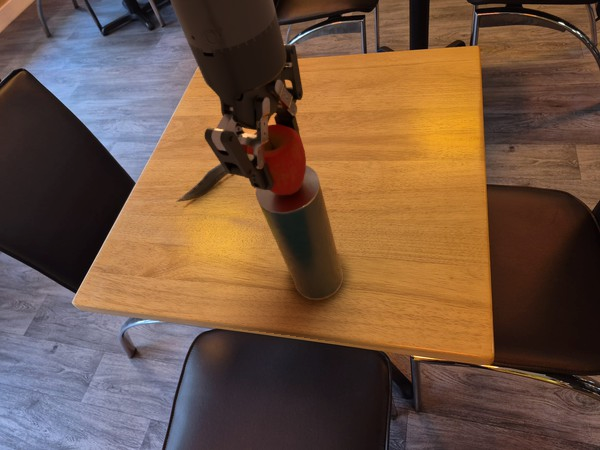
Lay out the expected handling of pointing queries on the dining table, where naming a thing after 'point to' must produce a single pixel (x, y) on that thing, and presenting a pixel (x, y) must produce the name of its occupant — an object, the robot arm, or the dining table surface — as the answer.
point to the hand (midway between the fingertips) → (278, 163)
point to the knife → (205, 183)
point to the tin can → (304, 237)
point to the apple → (284, 159)
